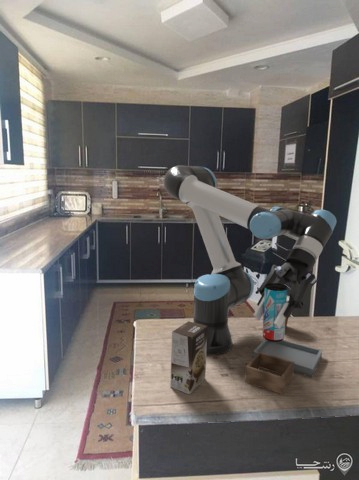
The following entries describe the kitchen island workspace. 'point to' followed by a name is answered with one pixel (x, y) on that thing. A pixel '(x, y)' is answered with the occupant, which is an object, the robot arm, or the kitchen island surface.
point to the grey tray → (293, 354)
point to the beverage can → (273, 311)
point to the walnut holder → (266, 378)
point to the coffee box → (188, 356)
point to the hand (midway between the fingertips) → (266, 321)
